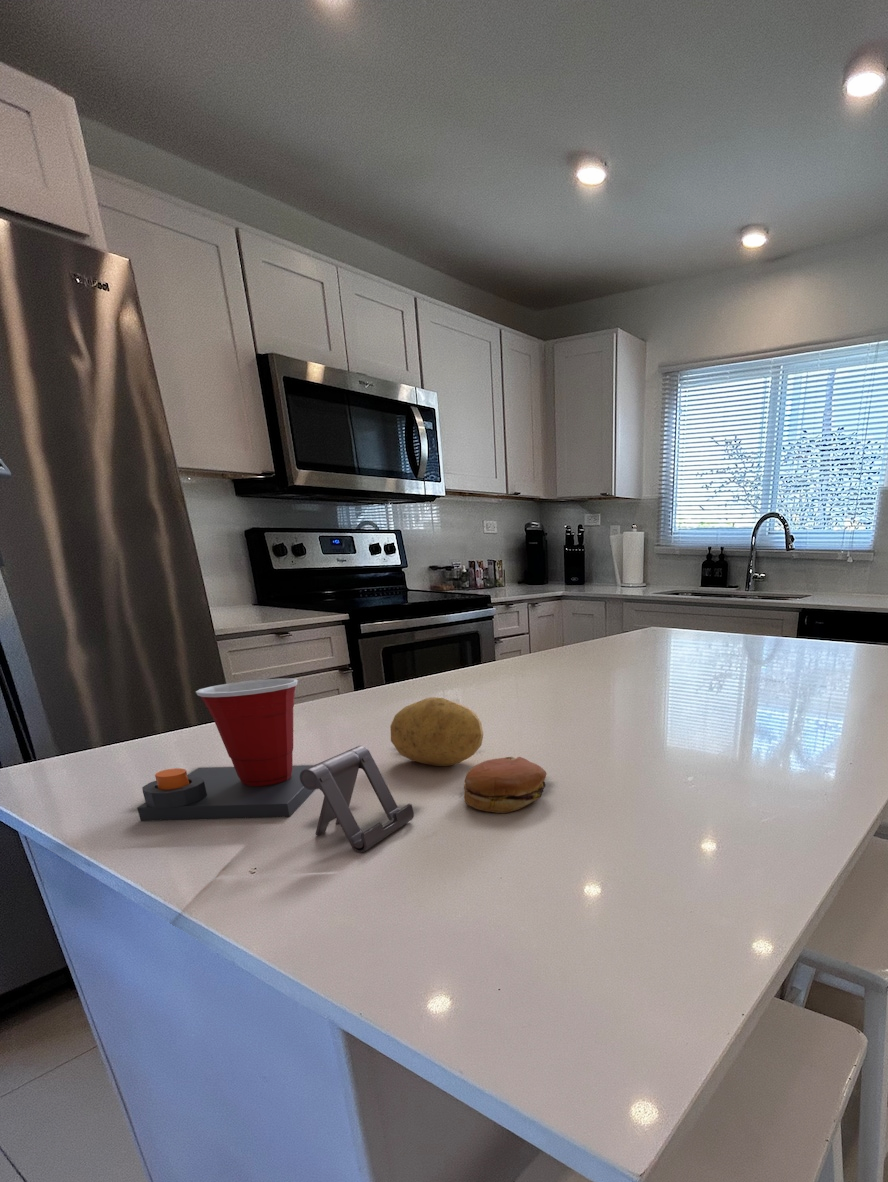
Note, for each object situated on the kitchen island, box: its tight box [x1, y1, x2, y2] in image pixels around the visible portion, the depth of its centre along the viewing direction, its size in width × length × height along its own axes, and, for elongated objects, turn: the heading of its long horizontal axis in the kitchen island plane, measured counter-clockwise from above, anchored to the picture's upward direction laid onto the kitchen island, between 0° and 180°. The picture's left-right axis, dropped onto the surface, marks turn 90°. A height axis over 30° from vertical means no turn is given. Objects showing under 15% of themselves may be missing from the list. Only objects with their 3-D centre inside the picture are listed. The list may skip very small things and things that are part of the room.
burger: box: [463, 756, 548, 814], centre depth 79 cm, size 10×9×5 cm
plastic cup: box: [195, 678, 299, 786], centre depth 79 cm, size 11×11×12 cm
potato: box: [390, 696, 484, 767], centre depth 91 cm, size 10×13×9 cm
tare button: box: [154, 767, 189, 790], centre depth 74 cm, size 3×3×2 cm
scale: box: [136, 764, 316, 822], centre depth 79 cm, size 16×14×4 cm
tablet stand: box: [300, 745, 415, 854], centre depth 69 cm, size 9×8×8 cm
